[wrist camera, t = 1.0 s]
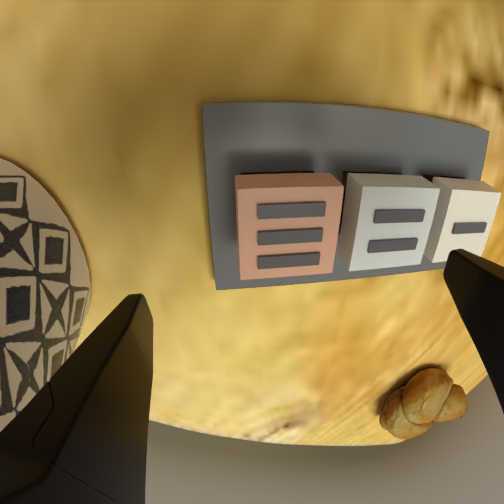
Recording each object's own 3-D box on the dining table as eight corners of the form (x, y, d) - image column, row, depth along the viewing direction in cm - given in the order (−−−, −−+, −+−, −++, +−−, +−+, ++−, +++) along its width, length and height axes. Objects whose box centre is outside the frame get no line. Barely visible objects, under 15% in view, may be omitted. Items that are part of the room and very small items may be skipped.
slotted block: (322, 165, 17) (345, 188, 14) (316, 242, 20) (333, 275, 17) (233, 167, 16) (237, 190, 13) (236, 246, 19) (240, 282, 16)
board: (479, 127, 17) (489, 131, 16) (447, 259, 24) (454, 267, 23) (203, 103, 16) (202, 105, 15) (215, 279, 22) (216, 290, 21)
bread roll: (391, 415, 41) (407, 456, 34) (354, 411, 37) (370, 460, 30) (454, 366, 35) (478, 408, 29) (426, 353, 32) (454, 405, 25)
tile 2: (410, 168, 17) (442, 190, 14) (396, 237, 20) (421, 266, 17) (339, 165, 17) (364, 188, 14) (330, 241, 20) (350, 273, 17)
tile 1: (471, 174, 18) (503, 194, 15) (456, 234, 20) (482, 258, 18) (422, 169, 17) (454, 190, 14) (407, 236, 20) (433, 264, 17)
